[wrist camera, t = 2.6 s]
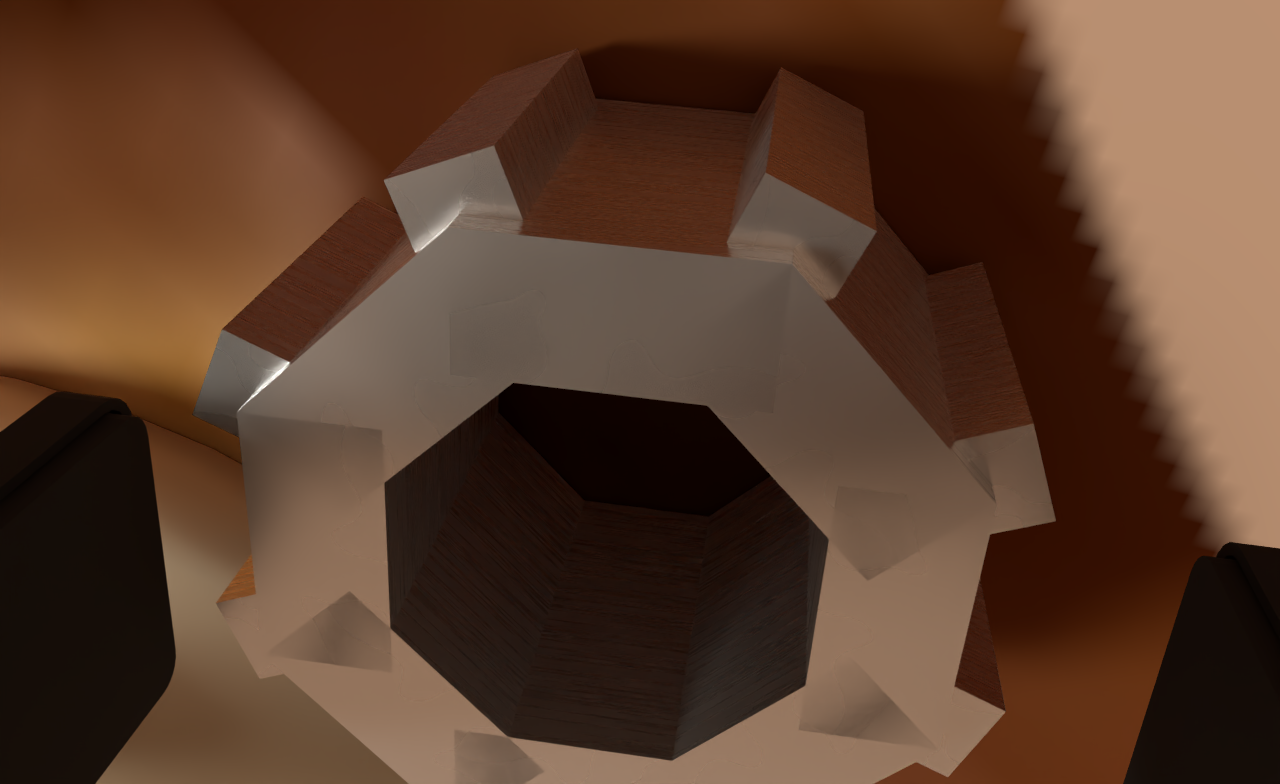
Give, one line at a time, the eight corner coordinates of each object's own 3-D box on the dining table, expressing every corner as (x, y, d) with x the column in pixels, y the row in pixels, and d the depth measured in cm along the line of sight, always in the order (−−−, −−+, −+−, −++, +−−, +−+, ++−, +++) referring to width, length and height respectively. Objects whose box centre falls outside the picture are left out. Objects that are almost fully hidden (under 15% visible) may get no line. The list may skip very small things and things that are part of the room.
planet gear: (331, 19, 12) (134, 123, 9) (1050, 85, 12) (1148, 223, 8) (363, 588, 16) (227, 829, 12) (924, 664, 15) (955, 942, 11)
